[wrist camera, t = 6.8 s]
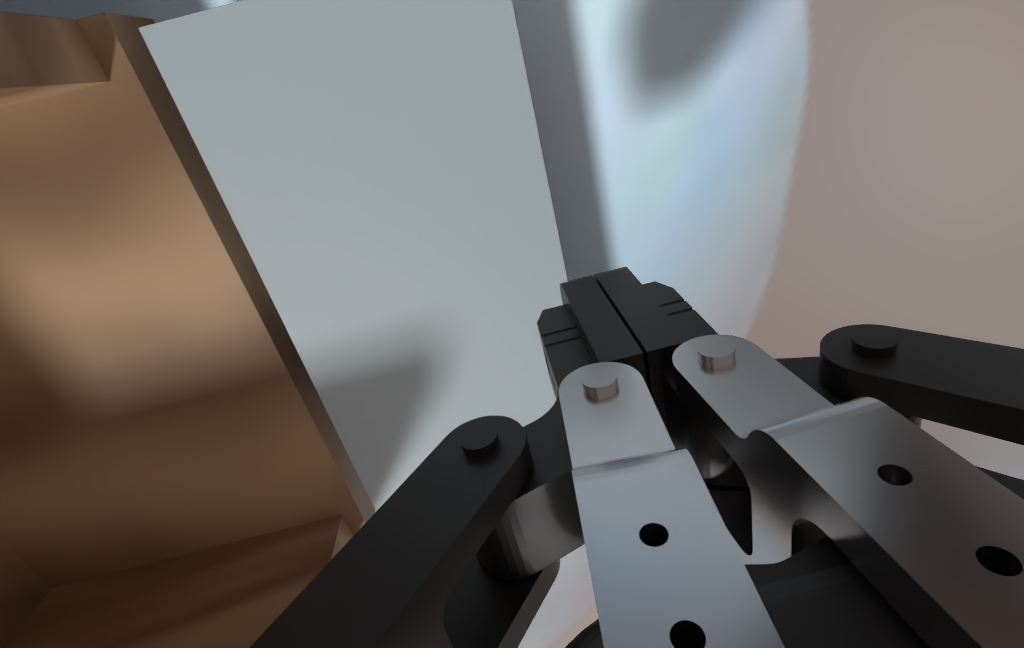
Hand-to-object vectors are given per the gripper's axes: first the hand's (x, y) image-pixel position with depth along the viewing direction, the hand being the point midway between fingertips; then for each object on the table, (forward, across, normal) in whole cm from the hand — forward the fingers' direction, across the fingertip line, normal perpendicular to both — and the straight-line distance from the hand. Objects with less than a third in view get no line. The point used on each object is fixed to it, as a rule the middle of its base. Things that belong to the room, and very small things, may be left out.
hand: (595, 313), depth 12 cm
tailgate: (+3, +8, 0) cm, 8 cm away
